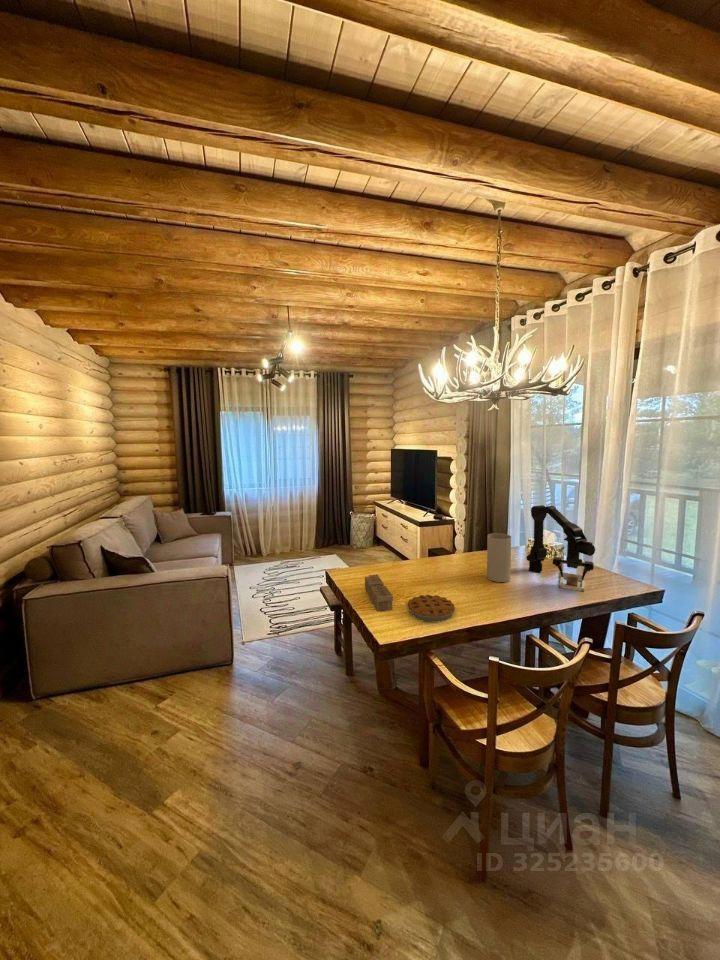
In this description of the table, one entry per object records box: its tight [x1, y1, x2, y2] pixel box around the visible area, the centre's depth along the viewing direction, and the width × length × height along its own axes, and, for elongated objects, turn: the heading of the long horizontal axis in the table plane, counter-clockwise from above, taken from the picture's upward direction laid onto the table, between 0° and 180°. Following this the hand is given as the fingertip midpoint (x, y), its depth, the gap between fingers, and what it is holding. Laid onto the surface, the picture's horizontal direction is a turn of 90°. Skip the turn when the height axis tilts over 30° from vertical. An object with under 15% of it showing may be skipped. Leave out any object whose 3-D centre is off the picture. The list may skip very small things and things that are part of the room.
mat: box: [558, 572, 585, 583], centre depth 210 cm, size 12×10×1 cm
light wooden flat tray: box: [558, 577, 586, 592], centre depth 199 cm, size 11×13×2 cm
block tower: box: [364, 573, 394, 613], centre depth 186 cm, size 8×8×29 cm
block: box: [565, 572, 579, 587], centre depth 197 cm, size 5×5×6 cm
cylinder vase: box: [486, 532, 512, 583], centre depth 208 cm, size 12×12×25 cm
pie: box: [406, 594, 456, 623], centre depth 172 cm, size 22×22×5 cm
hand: (572, 578), depth 197 cm, fingers open, 9 cm apart
